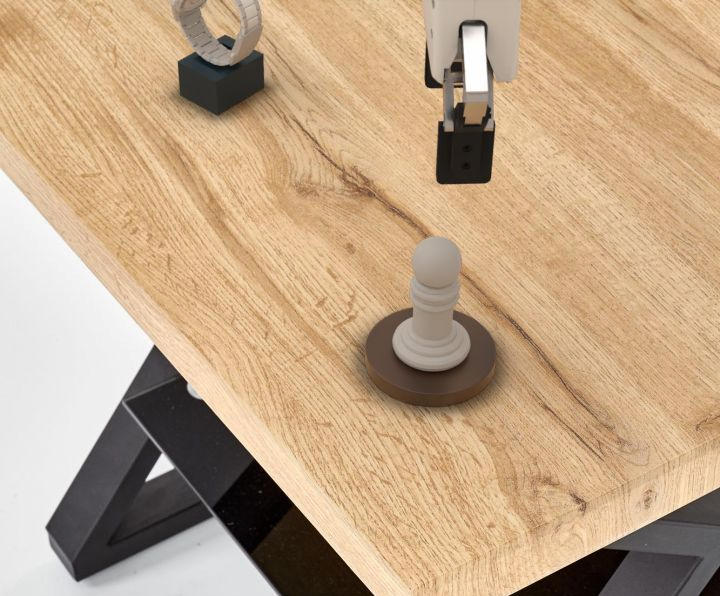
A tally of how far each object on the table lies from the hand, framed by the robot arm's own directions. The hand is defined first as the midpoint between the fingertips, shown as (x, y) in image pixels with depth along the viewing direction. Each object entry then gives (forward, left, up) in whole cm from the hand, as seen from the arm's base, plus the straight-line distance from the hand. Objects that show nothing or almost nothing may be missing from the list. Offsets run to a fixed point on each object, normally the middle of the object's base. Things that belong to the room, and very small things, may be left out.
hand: (456, 131), depth 95 cm
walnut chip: (+1, 0, -19) cm, 19 cm away
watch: (+16, -33, -19) cm, 41 cm away
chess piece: (+1, 0, -18) cm, 18 cm away
